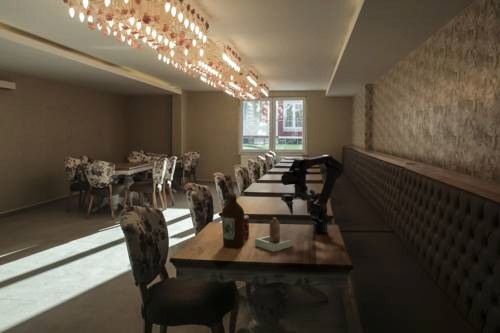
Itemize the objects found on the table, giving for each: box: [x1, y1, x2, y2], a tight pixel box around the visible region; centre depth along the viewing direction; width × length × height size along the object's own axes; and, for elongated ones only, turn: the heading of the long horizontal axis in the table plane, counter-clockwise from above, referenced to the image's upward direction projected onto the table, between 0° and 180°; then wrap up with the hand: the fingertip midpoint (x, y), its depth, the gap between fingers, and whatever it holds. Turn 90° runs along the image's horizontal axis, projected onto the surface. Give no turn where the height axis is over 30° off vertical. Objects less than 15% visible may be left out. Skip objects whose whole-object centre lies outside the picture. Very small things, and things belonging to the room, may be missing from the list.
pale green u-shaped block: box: [254, 235, 293, 253], centre depth 183 cm, size 12×12×3 cm
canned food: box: [243, 214, 250, 240], centre depth 198 cm, size 8×8×11 cm
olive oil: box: [221, 192, 245, 249], centre depth 183 cm, size 11×11×25 cm
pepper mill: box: [269, 217, 281, 244], centre depth 183 cm, size 5×5×13 cm
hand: (300, 214), depth 197 cm, fingers open, 9 cm apart
